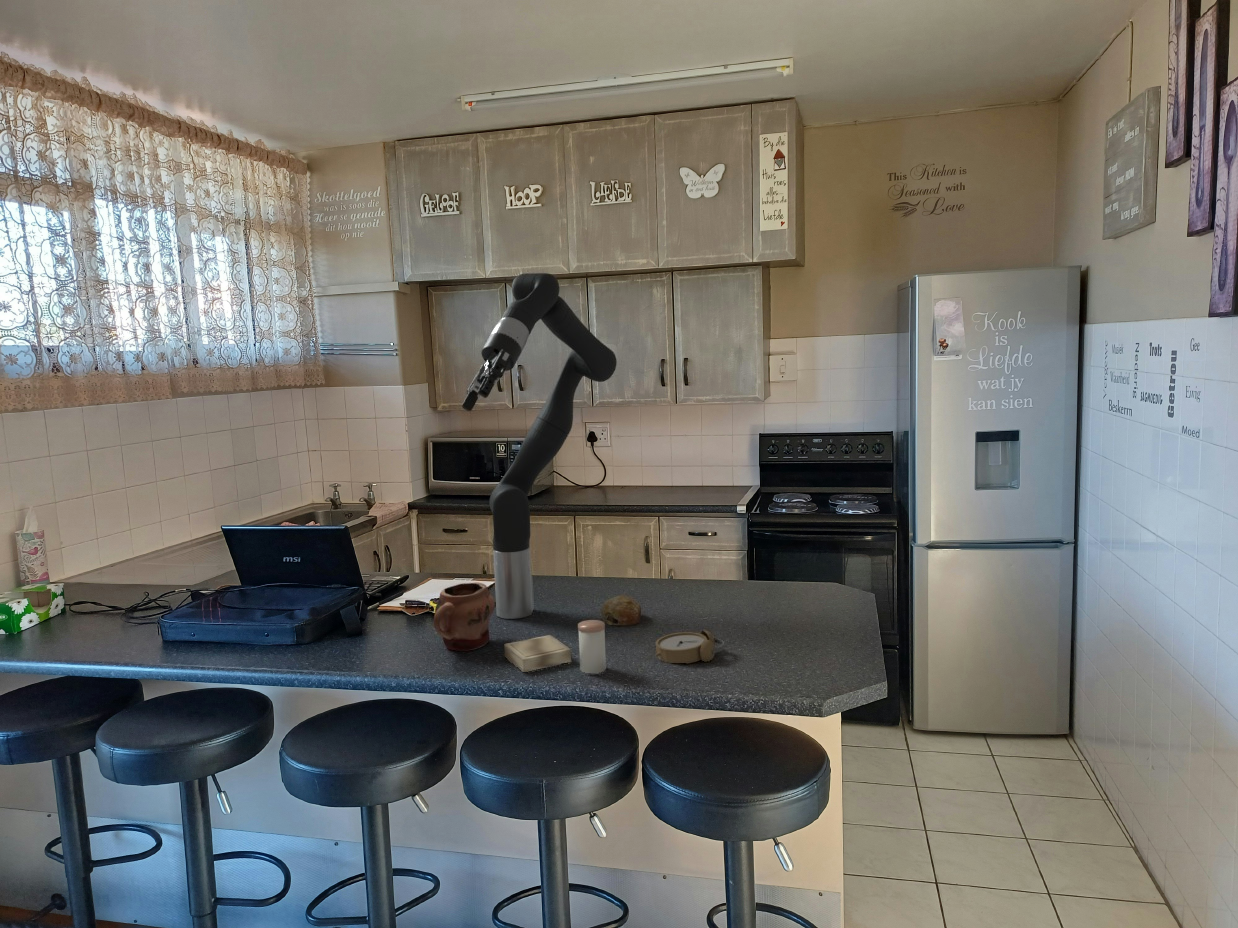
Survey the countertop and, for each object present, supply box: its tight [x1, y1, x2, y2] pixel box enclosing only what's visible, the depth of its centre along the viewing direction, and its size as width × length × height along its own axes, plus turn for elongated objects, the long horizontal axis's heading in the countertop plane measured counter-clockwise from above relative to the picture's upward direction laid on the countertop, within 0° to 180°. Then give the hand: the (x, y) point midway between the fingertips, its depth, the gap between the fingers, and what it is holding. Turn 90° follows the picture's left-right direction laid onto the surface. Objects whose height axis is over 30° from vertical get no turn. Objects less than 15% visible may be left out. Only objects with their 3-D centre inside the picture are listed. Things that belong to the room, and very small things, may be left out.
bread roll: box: [601, 594, 642, 627], centre depth 208 cm, size 10×10×8 cm
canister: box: [577, 619, 607, 673], centre depth 175 cm, size 6×6×10 cm
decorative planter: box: [433, 581, 496, 652], centre depth 191 cm, size 20×12×14 cm, turn 161°
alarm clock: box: [654, 630, 726, 664], centre depth 182 cm, size 11×5×15 cm
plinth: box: [504, 634, 572, 673], centre depth 182 cm, size 11×11×3 cm
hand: (473, 402), depth 171 cm, fingers open, 8 cm apart
